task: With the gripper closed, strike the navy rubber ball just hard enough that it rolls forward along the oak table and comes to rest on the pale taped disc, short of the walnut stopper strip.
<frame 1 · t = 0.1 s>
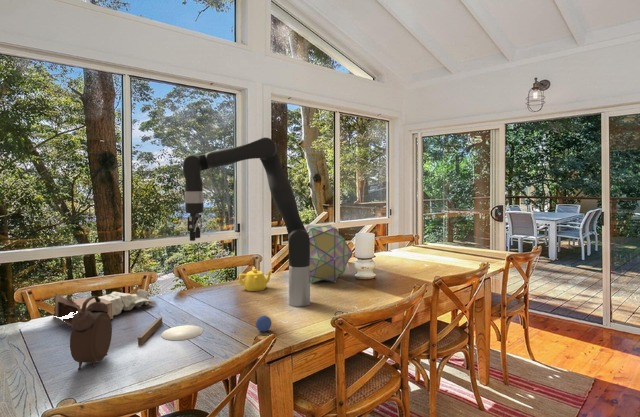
hand: (195, 239, 173), 29 cm above the table, tool pointing down, fingers open, 8 cm apart
ball: (263, 323, 144), on the table
sculpture: (321, 280, 220), on the table
teapot: (256, 288, 203), on the table
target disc: (182, 332, 143), on the table
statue: (106, 318, 161), on the table
stopper strip: (151, 333, 142), on the table
alarm clock: (91, 364, 119), on the table
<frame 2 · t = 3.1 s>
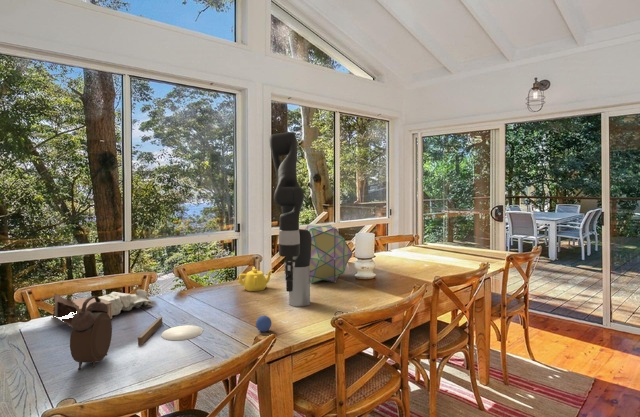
hand: (289, 289, 144), 15 cm above the table, tool pointing down, fingers open, 4 cm apart
nothing on the table moved.
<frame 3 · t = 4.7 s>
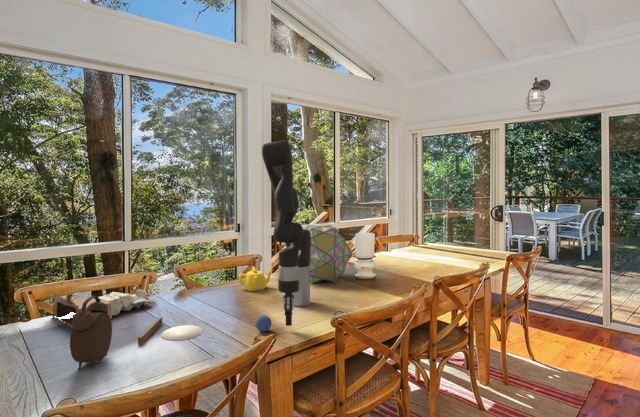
hand: (288, 325, 145), 2 cm above the table, tool pointing down, fingers closed
nothing on the table moved.
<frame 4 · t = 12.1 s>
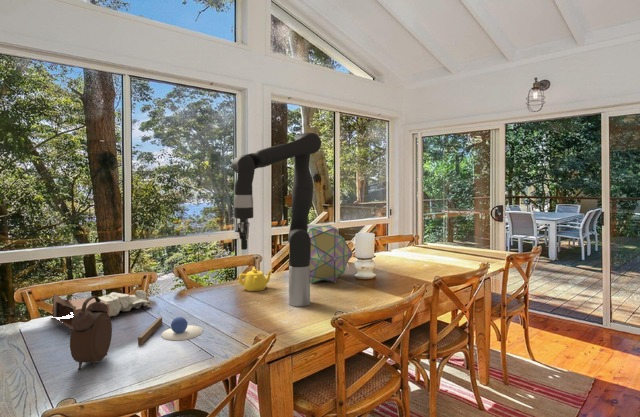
hand: (244, 249, 160), 27 cm above the table, tool pointing down, fingers closed
ball: (179, 325, 143), on the table
at the end: ball 1.1 cm from the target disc (horizontally); ball at rest at the end (0.0 cm/s); ball moved 30.1 cm from its start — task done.
